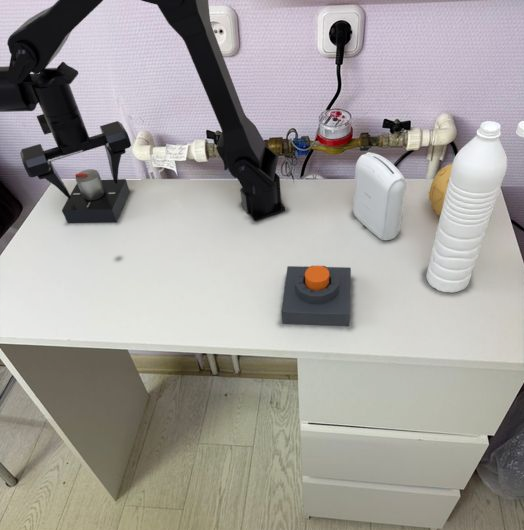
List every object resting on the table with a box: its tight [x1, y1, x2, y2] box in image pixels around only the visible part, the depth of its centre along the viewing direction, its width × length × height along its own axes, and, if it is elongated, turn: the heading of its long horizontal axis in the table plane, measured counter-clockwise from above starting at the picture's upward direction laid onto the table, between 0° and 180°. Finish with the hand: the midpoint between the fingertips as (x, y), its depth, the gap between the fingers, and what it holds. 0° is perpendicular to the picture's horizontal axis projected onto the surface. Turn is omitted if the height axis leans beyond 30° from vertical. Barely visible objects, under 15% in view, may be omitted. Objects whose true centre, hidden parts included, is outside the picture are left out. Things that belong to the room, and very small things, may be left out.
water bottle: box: [425, 120, 524, 294], centre depth 68 cm, size 9×6×25 cm
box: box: [280, 265, 352, 327], centre depth 76 cm, size 10×10×4 cm
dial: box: [74, 168, 105, 201], centre depth 94 cm, size 4×4×4 cm
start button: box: [305, 265, 329, 290], centre depth 74 cm, size 4×4×2 cm
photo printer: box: [352, 151, 407, 241], centre depth 83 cm, size 10×4×12 cm, turn 26°
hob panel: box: [61, 178, 131, 224], centre depth 97 cm, size 10×10×3 cm
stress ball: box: [427, 162, 453, 217], centre depth 84 cm, size 10×10×10 cm
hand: (92, 189), depth 95 cm, fingers open, 9 cm apart
